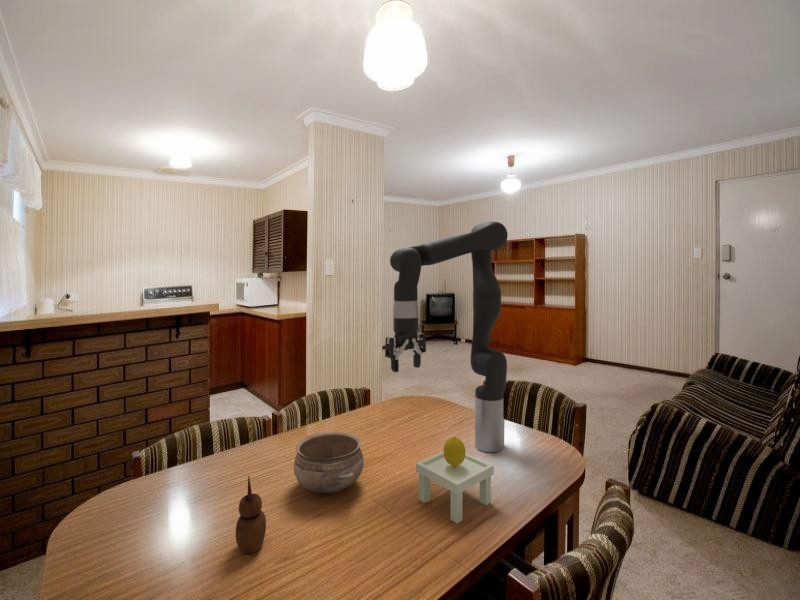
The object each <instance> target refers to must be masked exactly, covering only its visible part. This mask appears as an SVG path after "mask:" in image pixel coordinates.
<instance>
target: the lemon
mask: <svg viewBox="0 0 800 600" xmlns="http://www.w3.org/2000/svg"><path fill="white" fill-rule="evenodd" d="M443 451H444V458H445V460H446V462H447V463H448V464H450V465H452V466H453V467H456V466H458V465H460V464H461V463H462V462H463V461H464V458H465V453H466V447H465V444H464V443H463V441H462V439H461V438H459V437H457V436H455V435H454V436H452V437H449V438H448V439H447V440H446V441H445V443H444V446H443Z"/></svg>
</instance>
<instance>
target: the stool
mask: <svg viewBox="0 0 800 600" xmlns="http://www.w3.org/2000/svg"><path fill="white" fill-rule="evenodd" d="M415 471H416V473H418V500H419V501H420V502H422V503H424V504H425V503H427V502H429V501H430V500H431V481H433V482H434V483H436V484H437V485H439V486H441V487H442V488H444V489H447V490H449V491H450V520H451V521H452V522H454V523H455V524H458V523H460V522H462V521H463V511H464V510H463V504H464V503H463V497H464V496H463V492H465V491H466V490H467V489H470V488H472V487H474V486H475V485H477V484H479V503H481V504H482V505H484V506H487V505H490V504H491V503H492V501H491V500H492V499H491V498H492V496H491V495H492V494H491V493H492V476H494V475H495V466H494V465H493V464H491V463H489V462H487V461H485V460H482V459H479V458H478V457H476V456H473V455H470V454H469V453H466V452H465V458H464V461H463V462H462V463H461V464H460V465H458V466H456V467H453V466H452V465H450V464H448V463H447V462H446V460H445V458H444V450H443V451H441V452H439V453H436V454H434V455H432V456H429V457H427V458H424V459H422V460H420V461H417V462H416V463H415Z"/></svg>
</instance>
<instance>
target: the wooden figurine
mask: <svg viewBox="0 0 800 600" xmlns="http://www.w3.org/2000/svg"><path fill="white" fill-rule="evenodd" d="M247 477H248V478H247V494H246V495H244V496H243V497H241V499H240V500H239V502H238V513H239V517H238V518H237V521H236V524H235V541H236V545H237V547H238V549H239V551H241V552H242V553H244V554H253V553H255V552H257V551H259V549H260V548H261V547H262V546H263V544H264V539H265V536H266V530H267V529H266V528H267V519H266V515H265V513H264V511H262V509H263V503H262V502H263V501H262V498H261V496H260V495H259V494H258V493H252V485H251V479H250V475H248V476H247Z"/></svg>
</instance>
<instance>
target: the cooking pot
mask: <svg viewBox="0 0 800 600" xmlns="http://www.w3.org/2000/svg"><path fill="white" fill-rule="evenodd" d="M361 445H362V441H361V438H359V436H357V435H355V434H353V433H349V432H344V431H323V432H317V433H313V434H311V435H308V436H305V437H304V438H301V440H299V441H298V442H297V444H296V446H295V450H296V455H295V457H294V458H295V459H294V463H293V473H294V476H295V479H296V480H297V482H298V483H299V484H300V485H301V486H302V487H304V488H305V489H307V490H309V491H311V492H315V493H319V494H324V495H331V494H332V495H333V494H335V493H338V492H340V491H342V490H344V489H346V488H348V487H350V486H351V485H353V484H354V483H355V482H356V481H357V480H358V479H359V477H360V476H361V474H362V472H363V469H364V465H365V464H364V462H365V461H364V460H365V459H364V455H363V452H362V449H361Z"/></svg>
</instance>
